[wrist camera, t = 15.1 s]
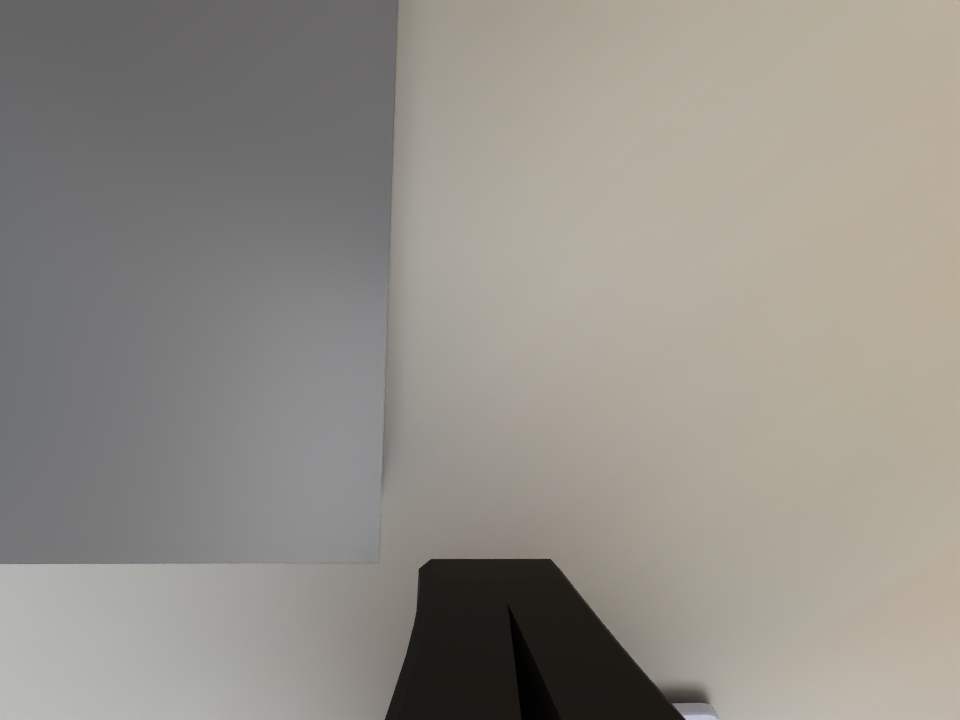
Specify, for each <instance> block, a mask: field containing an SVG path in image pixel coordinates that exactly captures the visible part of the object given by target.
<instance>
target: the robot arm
mask: <svg viewBox="0 0 960 720" xmlns="http://www.w3.org/2000/svg"><path fill="white" fill-rule="evenodd" d="M385 720H720V719H719V717H718V715H717V713H716V711H715V709H714V708H713V707H712V706H711V705H709V704H706V703H671V702H670V701H669V700H668V699H667V698H666V697H665V695H664V694H663V693H662V692H661V691H660V690H659V689H658V688H657V686H656V685H655V684H654V683H653V682H652V681H651V680H650V679H649V678H648V676H647V675H646V674H645V673H644V672H643V671H642V670H641V668H640V667H639V666H638V665H637V664H636V663H635V661H634V660H633V659H632V658H631V657H630V655H629V654H628V653H627V652H626V651H625V650H624V648H623V647H622V646H621V645H620V644H619V642H618V641H617V640H616V639H615V637H614V636H613V635H612V634H611V633H610V631H609V630H608V629H607V628H606V627H605V625H604V624H603V623H602V622H601V620H600V619H599V618H598V617H597V615H596V614H595V613H594V612H593V610H592V609H591V608H590V607H589V605H588V604H587V603H586V602H585V600H584V599H583V598H582V597H581V595H580V594H579V593H578V592H577V590H576V589H575V588H574V587H573V585H572V584H571V583H570V582H569V580H568V579H567V578H566V576H565V575H564V574H563V573H562V571H561V570H560V569H559V568H558V567H557V566H556V565H555V564H554V562H553V561H552V560H551V559H431V560H429V561H428V562H427V563H426V564H424V565H423V566H422V567H421V568H420V569H419V577H418V595H417V612H416V617H415V622H414V626H413V630H412V634H411V638H410V642H409V646H408V650H407V654H406V657H405V660H404V663H403V666H402V669H401V672H400V676H399V679H398V682H397V685H396V688H395V691H394V694H393V697H392V700H391V703H390V706H389V709H388V712H387V715H386V718H385Z"/></svg>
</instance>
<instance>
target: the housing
mask: <svg viewBox="0 0 960 720" xmlns="http://www.w3.org/2000/svg"><path fill="white" fill-rule="evenodd" d="M397 17H398V0H0V564H153V563H379V549H380V519H381V490H382V460H383V430H384V401H385V371H386V342H387V312H388V283H389V253H390V224H391V194H392V165H393V135H394V105H395V76H396V46H397Z"/></svg>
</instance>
